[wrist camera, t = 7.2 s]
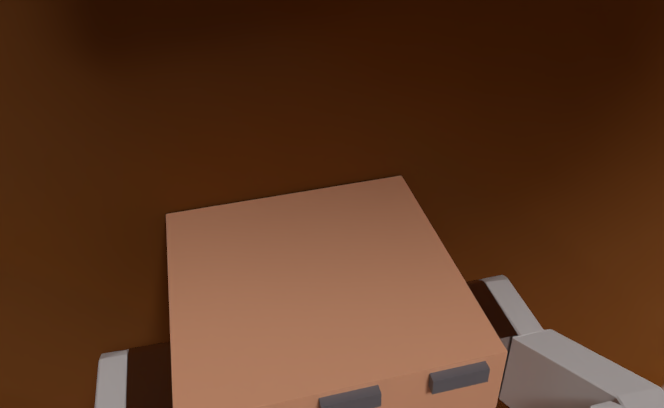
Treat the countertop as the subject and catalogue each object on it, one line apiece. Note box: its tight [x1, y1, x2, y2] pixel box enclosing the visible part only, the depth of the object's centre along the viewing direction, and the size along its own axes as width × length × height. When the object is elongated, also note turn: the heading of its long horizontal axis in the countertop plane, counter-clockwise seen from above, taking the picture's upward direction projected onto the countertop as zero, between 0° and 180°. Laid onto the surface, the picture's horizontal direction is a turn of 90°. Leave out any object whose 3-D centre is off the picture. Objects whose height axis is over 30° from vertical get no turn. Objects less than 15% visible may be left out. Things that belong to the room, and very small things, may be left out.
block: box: [166, 176, 508, 408], centre depth 12 cm, size 5×4×5 cm
